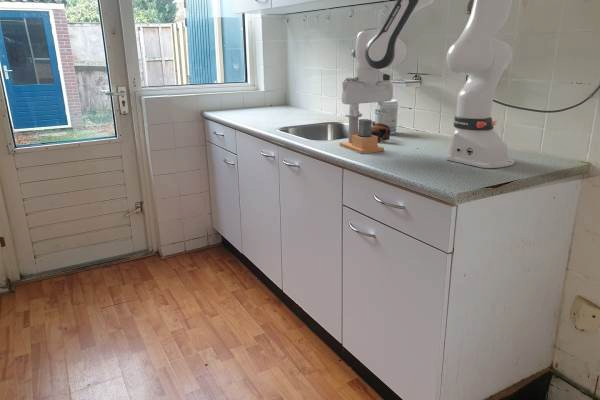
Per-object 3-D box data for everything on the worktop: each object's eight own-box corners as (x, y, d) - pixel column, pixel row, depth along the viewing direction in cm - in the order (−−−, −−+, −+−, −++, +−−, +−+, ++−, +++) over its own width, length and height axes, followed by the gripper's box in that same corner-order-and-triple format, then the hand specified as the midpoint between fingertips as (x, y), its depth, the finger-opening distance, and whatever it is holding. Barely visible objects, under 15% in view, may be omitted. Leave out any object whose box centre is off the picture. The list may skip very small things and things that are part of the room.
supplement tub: (376, 130, 208) (378, 98, 204) (397, 131, 205) (399, 99, 201) (373, 134, 200) (374, 101, 195) (394, 135, 197) (396, 101, 192)
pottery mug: (361, 141, 188) (366, 123, 189) (378, 149, 192) (383, 131, 193) (379, 138, 177) (384, 119, 178) (397, 147, 182) (402, 128, 183)
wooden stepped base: (383, 150, 168) (386, 98, 162) (360, 153, 164) (362, 100, 158) (359, 142, 183) (361, 94, 177) (338, 145, 179) (338, 96, 173)
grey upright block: (370, 146, 170) (371, 120, 166) (362, 147, 168) (363, 120, 165) (365, 144, 173) (366, 119, 169) (358, 145, 171) (358, 119, 168)
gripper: (347, 78, 156) (347, 118, 160) (395, 75, 163) (394, 113, 167) (338, 78, 161) (338, 116, 165) (385, 75, 169) (385, 112, 173)
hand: (367, 115), depth 166 cm, fingers open, 8 cm apart
